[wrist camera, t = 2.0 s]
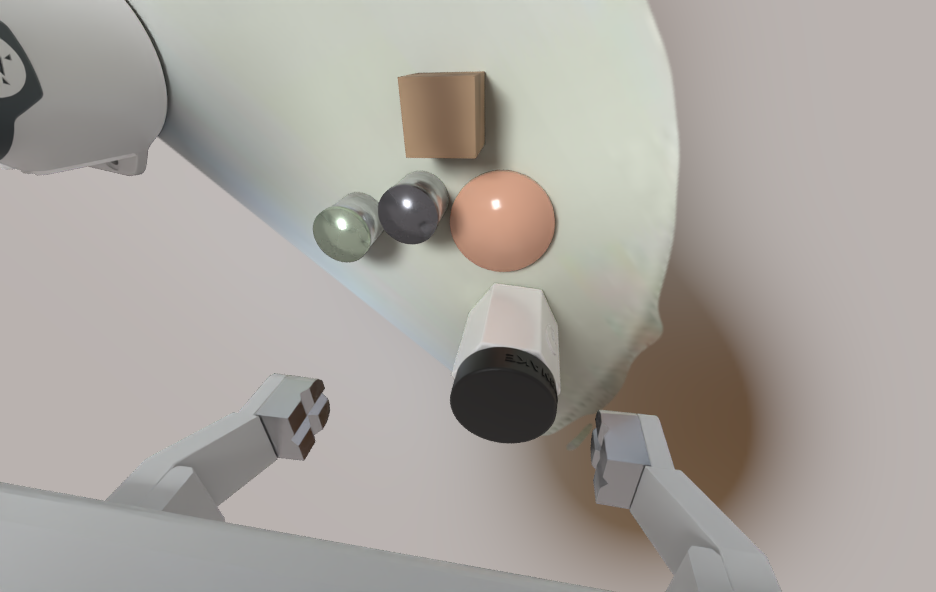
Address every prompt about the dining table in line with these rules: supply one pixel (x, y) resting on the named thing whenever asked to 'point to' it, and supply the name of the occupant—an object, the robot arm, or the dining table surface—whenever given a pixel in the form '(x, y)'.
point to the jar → (508, 366)
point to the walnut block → (443, 114)
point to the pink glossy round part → (502, 220)
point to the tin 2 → (413, 207)
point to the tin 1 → (348, 227)
